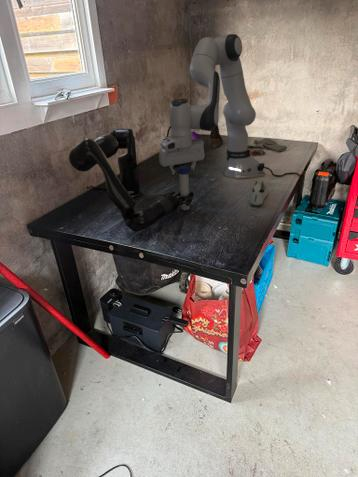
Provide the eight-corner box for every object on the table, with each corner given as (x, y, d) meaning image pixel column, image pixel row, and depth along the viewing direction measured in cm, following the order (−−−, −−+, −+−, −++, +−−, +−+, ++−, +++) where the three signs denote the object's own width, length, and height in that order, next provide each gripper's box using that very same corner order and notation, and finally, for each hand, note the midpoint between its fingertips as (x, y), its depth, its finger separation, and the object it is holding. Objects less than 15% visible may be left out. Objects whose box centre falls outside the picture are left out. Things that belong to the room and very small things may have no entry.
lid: (179, 170, 148) (179, 166, 147) (190, 171, 147) (190, 166, 146) (177, 174, 144) (176, 169, 143) (188, 174, 143) (188, 169, 141)
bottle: (190, 206, 155) (188, 167, 146) (189, 210, 152) (188, 170, 142) (181, 206, 156) (179, 167, 146) (181, 210, 152) (178, 170, 143)
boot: (223, 140, 259) (224, 113, 249) (220, 148, 239) (221, 119, 229) (212, 140, 261) (212, 113, 251) (208, 148, 241) (208, 120, 231)
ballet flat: (269, 188, 169) (270, 173, 165) (265, 208, 149) (266, 191, 145) (252, 187, 171) (253, 172, 167) (246, 206, 151) (247, 190, 147)
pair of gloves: (252, 157, 216) (252, 149, 214) (231, 148, 237) (231, 141, 234) (288, 150, 226) (289, 142, 223) (266, 142, 247) (266, 135, 244)
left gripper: (178, 201, 135) (201, 188, 147) (152, 195, 143) (175, 182, 154) (179, 217, 139) (201, 203, 150) (153, 210, 146) (176, 197, 158)
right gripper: (200, 136, 144) (201, 166, 151) (156, 143, 138) (159, 174, 145) (206, 139, 139) (207, 170, 146) (161, 146, 133) (164, 178, 140)
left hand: (188, 192), depth 152 cm, fingers closed on bottle, 4 cm apart
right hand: (183, 172), depth 146 cm, fingers open, 7 cm apart
